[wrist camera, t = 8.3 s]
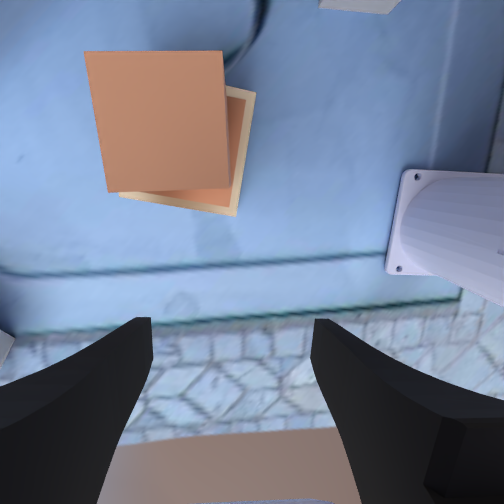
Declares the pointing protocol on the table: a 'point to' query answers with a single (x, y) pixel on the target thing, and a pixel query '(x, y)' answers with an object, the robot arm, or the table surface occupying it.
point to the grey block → (360, 5)
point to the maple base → (227, 199)
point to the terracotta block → (161, 119)
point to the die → (5, 346)
